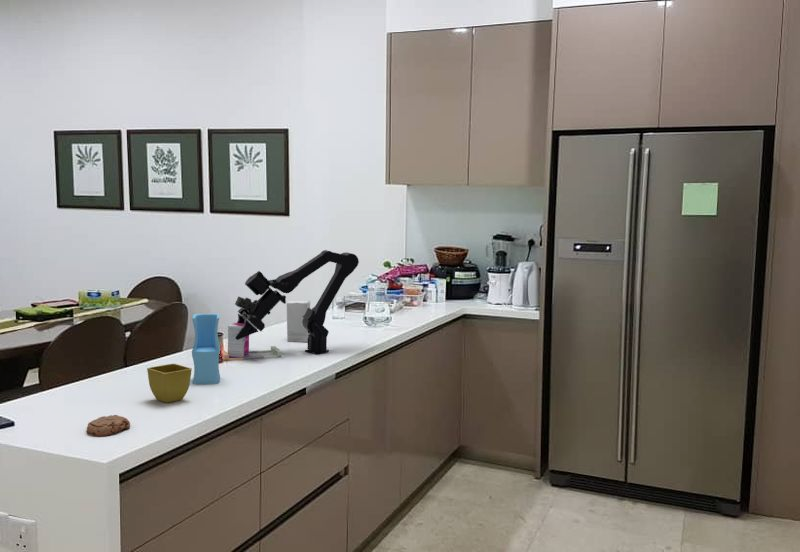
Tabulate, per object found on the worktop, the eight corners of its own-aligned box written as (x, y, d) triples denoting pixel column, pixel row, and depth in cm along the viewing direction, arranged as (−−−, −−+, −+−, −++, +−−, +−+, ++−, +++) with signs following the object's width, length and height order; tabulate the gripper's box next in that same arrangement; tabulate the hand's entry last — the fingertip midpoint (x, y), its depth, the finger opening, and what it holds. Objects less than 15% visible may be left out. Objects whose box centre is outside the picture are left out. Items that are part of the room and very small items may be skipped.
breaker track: (274, 351, 267) (274, 345, 267) (282, 357, 258) (282, 351, 257) (219, 354, 259) (219, 349, 259) (224, 361, 250) (224, 355, 249)
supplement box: (243, 359, 253) (242, 326, 252) (227, 357, 254) (226, 325, 253) (249, 355, 259) (249, 323, 257) (234, 354, 260) (233, 322, 259)
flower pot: (174, 393, 209) (174, 362, 208) (192, 399, 203) (192, 368, 202) (146, 399, 202) (146, 367, 201) (164, 406, 196) (164, 373, 195)
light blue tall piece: (192, 384, 219) (191, 318, 217) (194, 377, 227) (193, 313, 225) (219, 383, 221) (219, 318, 218) (220, 377, 228) (220, 313, 226)
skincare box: (310, 339, 290) (311, 300, 288) (307, 342, 284) (307, 302, 282) (290, 338, 291) (290, 299, 289) (285, 341, 284) (286, 302, 283)
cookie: (80, 438, 170) (80, 425, 170) (91, 424, 181) (91, 412, 181) (125, 437, 172) (125, 424, 172) (133, 423, 183) (133, 411, 182)
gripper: (243, 285, 264) (212, 317, 261) (255, 292, 247) (222, 326, 244) (265, 306, 268) (234, 337, 265) (278, 314, 251) (245, 348, 248)
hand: (234, 336), depth 255 cm, fingers closed on supplement box, 8 cm apart
